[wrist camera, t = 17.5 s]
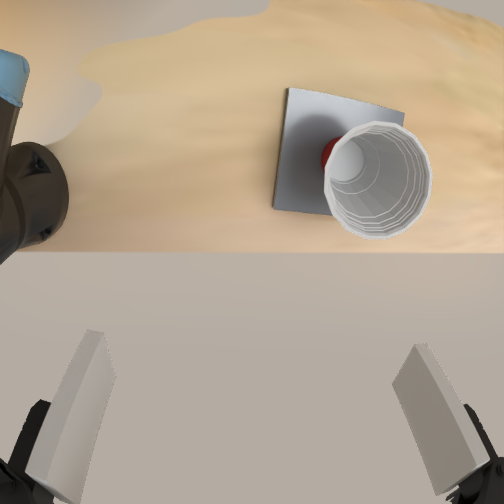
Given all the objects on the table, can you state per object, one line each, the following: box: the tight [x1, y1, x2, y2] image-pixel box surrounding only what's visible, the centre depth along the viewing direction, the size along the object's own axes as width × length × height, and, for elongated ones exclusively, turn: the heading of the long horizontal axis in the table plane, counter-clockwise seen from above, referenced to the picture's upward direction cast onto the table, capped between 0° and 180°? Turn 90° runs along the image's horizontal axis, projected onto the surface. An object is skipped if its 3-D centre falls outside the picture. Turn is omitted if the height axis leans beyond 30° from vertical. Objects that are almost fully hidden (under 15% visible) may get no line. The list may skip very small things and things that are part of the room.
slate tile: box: [273, 87, 405, 216], centre depth 35 cm, size 15×15×1 cm
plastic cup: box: [321, 121, 433, 239], centre depth 30 cm, size 11×11×12 cm
